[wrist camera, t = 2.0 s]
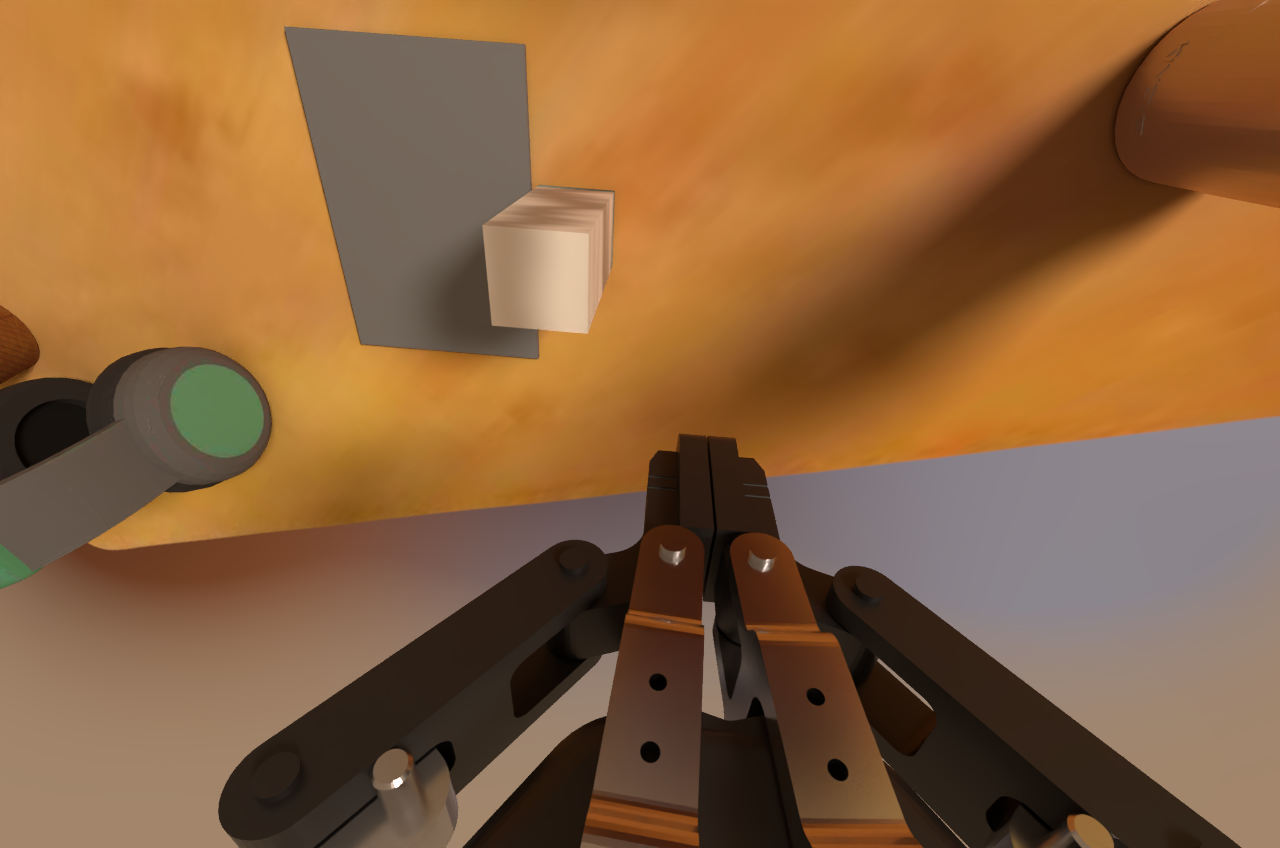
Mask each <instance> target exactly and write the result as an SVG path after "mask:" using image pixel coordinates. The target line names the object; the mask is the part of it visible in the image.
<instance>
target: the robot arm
mask: <svg viewBox="0 0 1280 848" xmlns="http://www.w3.org/2000/svg"><path fill="white" fill-rule="evenodd" d="M1115 145H1116V148H1117V152H1118V155H1119V158H1120V160H1121V161H1122V163H1123V164H1124V165H1125V167H1126V168H1127V170H1129V171H1130V172H1131V173H1133V174H1134V175H1135V176H1137V177H1138V178H1141V179H1144V180H1147V181H1150V182H1153V183H1157V184H1162V185H1167V186H1172V187H1177V188H1182V189H1187V190H1192V191H1197V192H1201V193H1205V194H1210V195H1215V196H1220V197H1225V198H1230V199H1235V200H1240V201H1246V202H1251V203H1256V204H1261V205H1266V206H1271V207H1276V208H1280V0H1219V1H1216V2H1213V3H1212V4H1210V5H1208V6H1206V7H1205V8H1203V9H1201V10H1199V11H1198V12H1196V13H1194V14H1192V15H1191V16H1189V17H1188V18H1187V19H1186V20H1184V21H1183V22H1182V23H1180V24H1179V25H1178V26H1176V27H1175V28H1174V29H1173V30H1171V31H1170V32H1169V33H1168V34H1167V35H1166V36H1165V37H1164V38H1163V39H1162V40H1161V41H1160V42H1159V43H1158V44H1157V45H1156V46H1155V47H1154V48H1153V49H1152V50H1151V52H1150V53H1149V54H1148V56H1147V57H1146V58H1145V60H1144V61H1143V62H1142V64H1141V65H1140V66H1139V67H1138V69H1137V70H1136V72H1135V74H1134V76H1133V77H1132V79H1131V81H1130V83H1129V84H1128V86H1127V88H1126V90H1125V93H1124V95H1123V98H1122V100H1121V103H1120V106H1119V108H1118V113H1117V118H1116V124H1115ZM702 597H703V601H706V602H715V612H716V615H715V619H714V624H713V629H712V630H713V640H714V646H715V653H716V660H717V666H718V673H719V680H720V686H721V693H722V700H723V707H724V720H723V719H721V718H718V717H715V716H712V715H709V714H707V713H704V712H702V709H701V708H702V684H703V656H704V626H703V625H702V623H701V622H702V621H701V620H702V619H701V618H702ZM615 651H619V654H618V659H617V664H616V670H615V675H614V680H613V685H612V691H611V696H610V701H609V707H608V712H607V716H605V717H602V718H599V719H596V720H594V721H591V722H589V723H587V724H585V725H583V726H582V727H580V728H579V729H577V730H575V731H574V732H572V733H571V734H570V735H569V736H567V737H566V738H565V739H564V740H563V741H561V742H560V743H559V744H558V745H557V746H556V747H555V748H554V749H553V751H552V752H551V753H550V754H549V755H548V756H547V757H546V758H545V759H544V760H543V761H542V763H540V764H539V766H538V767H537V768H536V769H535V770H534V771H533V772H532V773H531V774H530V775H529V776H528V778H526V780H525V781H524V782H523V783H522V784H521V785H520V786H519V787H518V788H517V789H516V790H515V792H513V794H512V795H511V796H510V797H509V798H508V799H507V800H506V801H505V802H504V803H503V804H502V806H500V808H499V809H498V810H497V811H496V812H495V813H494V814H493V815H492V816H491V817H490V818H489V819H488V820H487V822H486V823H485V824H484V825H483V826H482V827H481V828H480V829H479V830H478V831H477V832H476V833H475V835H474V836H473V837H472V838H471V839H470V840H469V841H468V842H467V843H466V844H465V845H464V846H463V848H967V847H965V845H964V844H963V843H962V842H961V841H960V840H959V839H958V838H957V837H956V836H955V834H954V833H953V832H952V831H951V830H950V829H949V828H948V827H947V826H946V825H945V824H944V823H943V821H944V822H945V823H946V824H947V825H948V826H949V827H950V828H951V829H952V830H953V831H954V832H955V833H956V834H957V835H958V836H959V837H960V838H961V839H962V840H963V841H964V842H965V843H966V844H967V845H968V846H969V847H970V848H1241V847H1240V846H1238V845H1237V844H1236V843H1235V842H1234V841H1233V840H1231V839H1230V838H1229V837H1227V836H1226V835H1225V834H1223V833H1222V832H1221V831H1219V830H1218V829H1217V828H1216V827H1214V826H1213V825H1212V824H1210V823H1209V822H1207V821H1206V820H1205V819H1204V818H1202V817H1201V816H1200V815H1198V814H1197V813H1196V812H1195V811H1193V810H1192V809H1191V808H1189V807H1188V806H1187V805H1185V804H1184V803H1183V802H1181V801H1180V800H1179V799H1177V798H1176V797H1175V796H1173V795H1172V794H1171V793H1169V792H1168V791H1167V790H1165V789H1164V788H1163V787H1162V786H1160V785H1159V784H1158V783H1156V782H1155V781H1154V780H1152V779H1151V778H1150V777H1149V776H1147V775H1146V774H1145V773H1143V772H1142V771H1140V770H1139V769H1138V768H1137V767H1135V766H1134V765H1133V764H1131V763H1130V762H1129V761H1127V760H1126V759H1125V758H1124V757H1122V756H1121V755H1120V754H1118V753H1117V752H1116V751H1114V750H1113V749H1112V748H1110V747H1109V746H1108V745H1107V744H1105V743H1104V742H1103V741H1101V740H1100V739H1099V738H1097V737H1096V736H1095V735H1093V734H1092V733H1091V732H1089V731H1088V730H1087V729H1086V728H1084V727H1083V726H1081V725H1080V724H1079V723H1078V722H1076V721H1075V720H1073V719H1072V718H1071V717H1070V716H1068V715H1067V714H1065V713H1064V712H1063V711H1062V710H1061V709H1059V708H1058V707H1056V706H1055V705H1054V704H1053V703H1051V702H1050V701H1049V700H1047V699H1046V698H1045V697H1044V696H1042V695H1041V694H1040V693H1038V692H1037V691H1036V690H1034V689H1033V688H1032V687H1030V686H1029V685H1028V684H1026V683H1025V682H1024V681H1023V680H1021V679H1020V678H1018V677H1017V676H1016V675H1015V674H1013V673H1012V672H1011V671H1009V670H1008V669H1007V668H1005V667H1004V666H1003V665H1001V664H1000V663H999V662H998V661H996V660H995V659H994V658H992V657H991V656H990V655H988V654H987V653H986V652H984V651H983V650H982V649H981V648H979V647H978V646H977V645H975V644H974V643H973V642H971V641H970V640H968V639H967V638H966V637H965V636H963V635H962V634H961V633H960V632H958V631H957V630H956V629H954V628H953V627H952V626H950V625H949V624H948V623H946V622H945V621H944V620H942V619H941V618H940V617H938V616H937V615H936V614H935V613H933V612H932V611H931V610H929V609H928V608H927V607H925V606H924V605H923V604H921V603H920V602H919V601H918V600H916V599H915V598H913V597H912V596H911V595H910V594H908V593H907V592H906V591H904V590H903V589H902V588H900V587H899V586H898V585H896V584H895V583H894V582H893V581H891V580H890V579H889V578H887V577H886V576H884V575H883V574H881V573H879V572H877V571H875V570H873V569H870V568H866V567H862V566H848V567H845V568H842V569H840V570H839V571H838V572H837V573H836V574H835V576H834V577H833V576H830V575H827V574H824V573H821V572H818V571H815V570H813V569H810V568H807V567H805V566H803V565H802V564H800V563H798V562H797V561H795V560H794V557H793V555H792V552H791V551H790V549H789V548H788V547H787V546H786V545H785V544H784V543H783V542H782V541H780V538H779V534H778V530H777V525H776V520H775V516H774V512H773V507H772V503H771V499H770V494H769V490H768V488H767V481H766V476H765V472H764V470H763V469H762V468H761V467H760V465H759V464H758V463H757V462H756V461H755V459H754V458H742V457H739V456H738V450H737V444H736V439H735V438H726V437H715V436H708V437H707V438H706V436H702V435H690V434H679V436H678V443H677V451H676V452H672V451H660V450H658V452H657V453H656V454H655V455H654V457H653V458H652V459H651V460H650V464H649V475H648V486H647V497H646V508H645V521H644V533H643V536H642V538H641V539H640V540H639V541H638V542H637V543H636V544H635V545H634V546H632V547H630V548H628V549H626V550H623V551H620V552H615V553H609V554H604V553H603V552H602V550H601V549H600V548H598V547H597V546H596V545H594V544H592V543H590V542H587V541H582V540H568V541H564V542H560V543H558V544H556V545H554V546H552V547H551V548H549V549H548V550H546V551H545V552H543V553H542V554H540V555H539V556H537V557H536V558H534V559H533V560H531V561H530V562H529V563H527V564H526V565H524V566H523V567H521V568H520V569H518V570H517V571H515V572H514V573H513V574H511V575H509V576H508V577H507V578H505V579H504V580H502V581H501V582H499V583H498V584H496V585H495V586H493V587H492V588H490V589H489V590H487V591H486V592H484V593H483V594H482V595H480V596H479V597H477V598H476V599H474V600H473V601H471V602H470V603H468V604H467V605H465V606H464V607H462V608H461V609H459V610H458V611H456V612H455V613H454V614H452V615H451V616H449V617H448V618H446V619H445V620H443V621H442V622H440V623H439V624H437V625H436V626H434V627H433V628H431V629H430V630H429V631H427V632H426V633H424V634H423V635H421V636H420V637H418V638H417V639H415V640H414V641H412V642H411V643H410V644H408V645H406V646H405V647H404V648H402V649H401V650H399V651H398V652H396V653H395V654H393V655H392V656H390V657H389V658H387V659H386V660H384V661H383V662H382V663H380V664H379V665H377V666H376V667H374V668H373V669H371V670H370V671H368V672H367V673H365V674H364V675H362V676H361V677H359V678H358V679H357V680H355V681H354V682H352V683H351V684H349V685H348V686H346V687H345V688H343V689H342V690H340V691H339V692H337V693H336V694H334V695H333V696H332V697H330V698H329V699H327V700H326V701H324V702H323V703H321V704H320V705H319V706H317V707H315V708H314V709H312V710H311V711H309V712H308V713H306V714H305V715H304V716H302V717H301V718H299V719H298V720H296V721H295V722H293V723H292V724H291V725H289V726H287V727H286V728H285V729H283V730H281V731H280V732H279V733H277V734H276V735H274V736H273V737H271V738H270V739H268V740H267V741H265V742H264V743H262V744H261V745H260V746H258V747H257V748H256V749H254V750H253V751H252V752H251V753H250V754H249V755H247V756H246V757H245V758H244V759H243V761H242V762H241V763H240V764H239V765H238V766H237V767H236V769H235V770H234V771H233V773H232V774H231V775H230V777H229V779H228V781H227V782H226V784H225V787H224V789H223V791H222V794H221V797H220V801H219V809H218V810H219V811H218V813H219V820H220V823H221V825H222V827H223V829H224V830H225V831H226V832H227V834H228V835H229V836H230V837H231V838H232V839H233V841H234V842H235V843H236V844H237V845H238V846H239V848H446V846H447V844H448V843H449V841H450V839H451V837H452V835H453V833H454V830H455V827H456V823H457V818H458V803H457V798H456V795H457V794H458V793H459V792H460V791H461V790H462V789H463V788H464V787H465V786H466V785H467V784H468V783H469V782H471V781H472V780H473V779H474V778H475V777H476V776H477V775H478V774H479V773H480V772H481V771H482V770H483V769H484V768H485V767H486V766H487V765H489V764H490V763H491V762H492V761H493V760H494V759H495V758H496V757H497V756H498V755H499V754H500V753H502V752H503V751H504V750H505V749H506V748H507V747H508V746H509V745H510V744H511V743H512V742H513V741H514V740H515V739H516V738H518V737H519V736H520V735H521V734H522V733H523V732H524V731H525V730H526V729H527V728H528V727H529V726H530V725H531V724H532V723H534V722H535V721H536V720H537V719H538V718H539V717H540V716H541V715H542V714H543V713H544V712H545V711H546V710H547V709H548V708H550V707H551V706H552V705H553V704H554V703H555V702H556V701H557V700H558V699H559V698H560V697H561V696H562V695H563V694H564V693H566V692H567V691H568V690H569V689H570V688H571V687H572V686H573V685H574V684H575V683H576V682H577V681H578V680H580V679H581V678H582V677H583V676H584V675H585V674H586V673H587V672H588V671H589V670H590V669H591V668H592V667H593V666H595V664H596V663H597V662H598V661H599V660H600V658H601V656H602V655H603V654H607V653H612V652H615ZM878 658H879V659H880V660H882V661H883V662H884V663H885V664H886V665H887V666H888V667H889V668H891V669H892V670H893V671H894V672H895V673H896V674H897V675H898V676H900V677H901V678H902V679H903V680H904V681H905V682H906V683H907V684H909V685H910V686H911V687H912V688H913V689H914V690H915V691H916V692H918V693H919V694H920V695H921V696H922V697H923V698H924V699H925V700H926V701H927V702H928V703H929V704H930V705H931V707H932V708H933V710H934V711H932V710H931V709H930V708H929V707H928V706H927V705H926V704H924V703H923V702H922V701H921V700H920V699H919V698H918V697H917V696H916V695H914V694H913V693H912V692H911V691H910V690H909V689H908V688H907V687H905V686H904V685H903V684H902V683H901V682H900V681H899V680H898V679H897V678H895V677H894V676H893V675H892V674H891V673H890V672H889V671H887V670H886V669H885V668H884V667H883V666H882V665H881V664H880V663H879V662H878V661H877V660H878ZM882 758H883V759H884V760H885V761H886V762H887V763H888V764H889V765H890V766H891V767H892V768H893V769H894V770H893V769H892V768H891V767H890V766H889V765H888V764H886V762H884V761H883V760H882ZM918 795H919V796H920V797H921V798H922V799H923V800H924V801H925V802H926V803H927V804H928V805H929V806H930V807H931V808H932V809H933V810H934V811H935V812H936V814H938V816H939V817H940V818H941V819H942V820H943V821H941V819H940V818H939V817H938V816H937V815H936V814H935V813H934V812H933V811H932V810H931V809H930V808H929V807H928V805H927V804H926V803H925V802H924V801H923V800H922V799H921V798H920V797H919V796H918Z"/></svg>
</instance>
